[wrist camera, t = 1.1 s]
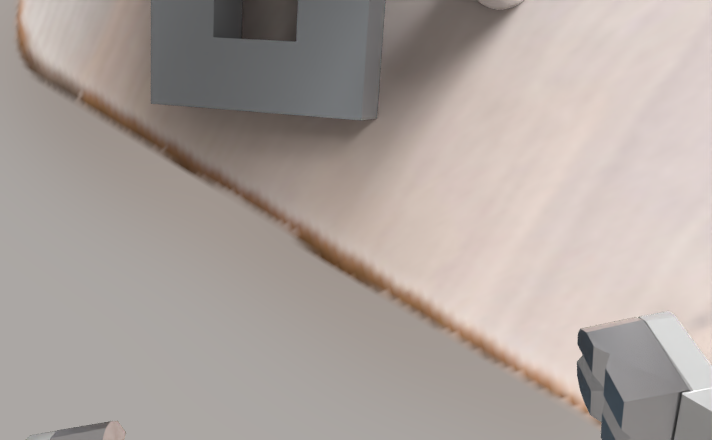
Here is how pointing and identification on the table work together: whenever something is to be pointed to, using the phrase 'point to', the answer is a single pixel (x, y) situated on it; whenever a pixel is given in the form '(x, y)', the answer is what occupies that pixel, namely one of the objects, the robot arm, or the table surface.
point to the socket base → (269, 59)
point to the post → (500, 3)
